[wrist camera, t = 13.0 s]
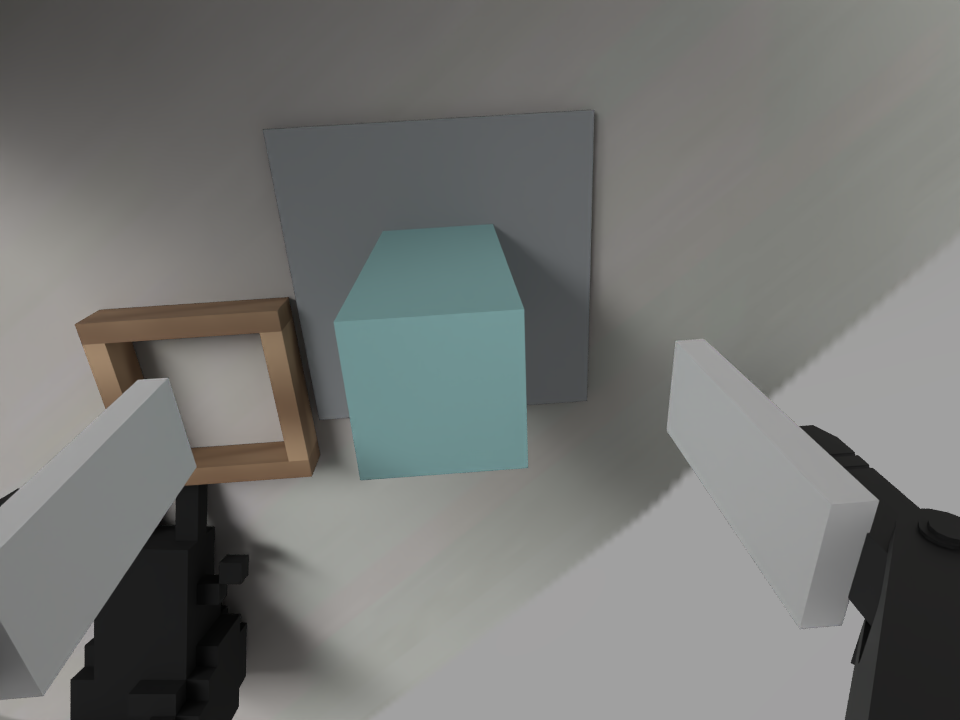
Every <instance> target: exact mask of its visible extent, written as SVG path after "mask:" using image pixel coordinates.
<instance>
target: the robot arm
mask: <svg viewBox="0 0 960 720" xmlns="http://www.w3.org/2000/svg"><path fill="white" fill-rule="evenodd" d="M667 432H668V433H669V435H670V436H671V438H672V439H673V441H674V442H675V444H676V445H677V447H678V448H679V450H680V451H681V453H682V454H683V456H684V457H685V459H686V460H687V462H688V463H689V465H690V466H691V468H692V469H693V471H694V472H695V474H696V475H697V477H698V478H699V480H700V481H701V483H702V484H703V486H704V487H705V489H706V490H707V491H708V493H709V495H710V496H711V498H712V499H713V501H714V502H715V504H716V505H717V507H718V508H719V510H720V511H721V512H722V514H723V515H724V517H725V519H726V520H727V521H728V523H729V524H730V526H731V527H732V529H733V530H734V532H735V533H736V535H737V536H738V538H739V539H740V541H741V542H742V544H743V545H744V547H745V548H746V550H747V551H748V552H749V554H750V556H751V557H752V559H753V560H754V562H755V563H756V565H757V566H758V568H759V569H760V571H761V572H762V574H763V575H764V577H765V578H766V580H767V581H768V583H769V584H770V586H771V587H772V589H773V590H774V592H775V593H776V595H777V596H778V597H779V599H780V600H781V602H782V604H783V605H784V606H785V608H786V610H787V611H788V612H789V614H790V616H791V617H792V619H793V620H794V621H795V623H796V625H797V626H798V627H799V629H806V628H818V627H829V626H840V625H842V623H843V620H844V617H845V613H846V610H847V606H848V603H849V600H850V601H851V602H852V603H853V604H854V606H855V607H856V608H857V609H858V611H859V612H860V613H861V614H862V615H863V616H864V618H865V620H864V623H863V626H862V629H861V632H860V635H859V639H858V642H857V645H856V648H855V651H854V654H853V657H852V660H851V663H852V664H854V665H855V666H854V671H853V677H852V683H851V688H850V694H849V700H848V705H847V711H846V717H845V720H960V517H958V516H956V515H953V514H950V513H947V512H943V511H938V510H933V509H920V508H919V507H917V506H916V505H915V504H914V503H913V502H912V501H911V500H909V499H908V498H907V497H906V496H905V495H903V494H902V493H901V492H900V491H899V490H898V489H897V488H895V487H894V486H893V485H892V484H891V483H890V482H888V481H887V480H886V479H885V478H884V477H883V476H882V475H880V474H879V473H878V472H877V471H876V470H875V469H873V468H869V464H867V463H866V462H865V461H864V460H863V459H862V458H861V457H860V456H858V455H856V456H855V452H854V451H853V450H851V449H850V448H849V447H848V446H847V445H846V444H844V443H843V442H842V441H841V440H840V439H839V438H837V437H836V436H833V435H832V434H829V433H828V432H826V431H823V430H821V429H820V428H818V427H815V426H814V425H809V426H798V425H797V424H796V423H795V422H794V421H793V420H792V419H790V418H789V417H788V416H787V415H786V414H785V413H784V412H783V411H782V410H781V409H780V408H779V407H777V406H776V405H775V404H774V403H773V402H772V401H771V400H770V399H769V398H768V397H767V396H766V395H765V394H763V393H762V392H761V391H760V390H759V389H758V388H757V387H756V386H755V385H754V384H753V383H752V382H750V381H749V380H748V379H747V378H746V377H745V376H744V375H743V374H742V373H741V372H740V371H739V370H738V369H736V368H735V367H734V366H733V365H732V364H731V363H730V362H729V361H728V360H727V359H726V358H725V357H723V356H722V355H721V354H720V353H719V352H718V351H717V350H716V349H715V348H714V347H713V346H712V345H710V344H709V343H708V342H707V341H706V340H705V339H693V340H679V341H675V350H674V360H673V371H672V381H671V391H670V401H669V411H668V421H667ZM196 467H197V466H196V463H195V460H194V457H193V454H192V451H191V447H190V444H189V441H188V438H187V435H186V432H185V428H184V425H183V422H182V419H181V416H180V413H179V410H178V406H177V403H176V400H175V397H174V394H173V391H172V387H171V384H170V381H169V378H157V379H143V380H137V381H136V382H135V383H134V384H133V385H132V386H131V387H130V388H129V389H127V390H126V391H125V392H124V393H123V394H122V395H121V396H120V397H119V398H118V399H117V400H116V401H114V402H113V403H112V404H111V405H110V406H109V407H108V408H107V409H106V410H105V411H104V412H103V413H101V414H100V415H99V416H98V417H97V418H96V419H95V420H94V421H93V422H92V423H91V424H90V425H88V426H87V427H86V428H85V429H84V430H83V431H82V432H81V433H80V434H79V435H78V436H76V437H75V438H74V439H73V440H72V441H71V442H70V443H69V444H68V445H67V446H66V447H65V448H63V449H62V450H61V451H60V452H59V453H58V454H57V455H56V456H55V457H54V458H53V459H52V460H50V461H49V462H48V463H47V464H46V465H45V466H44V467H43V468H42V469H41V470H40V471H39V472H37V473H36V474H35V475H34V476H33V477H32V478H31V479H30V480H29V481H28V482H27V483H26V484H24V485H23V486H22V487H21V488H20V489H16V490H15V491H13V492H11V493H10V494H8V495H6V496H5V497H3V498H1V499H0V700H5V699H16V698H27V697H39V696H44V694H45V693H46V691H47V690H48V688H49V687H50V685H51V684H52V682H53V681H54V679H55V678H56V676H57V675H58V673H59V672H60V670H61V669H62V667H63V666H64V664H65V663H66V661H67V660H68V658H69V657H70V655H71V654H72V652H73V651H74V649H75V648H76V646H77V645H78V643H79V642H80V640H81V639H82V637H83V636H84V634H85V633H86V631H87V630H88V628H89V627H90V625H91V624H92V623H93V621H94V620H95V618H96V617H97V615H98V614H99V612H100V611H101V609H102V608H103V606H104V605H105V603H106V602H107V600H108V599H109V597H110V596H111V594H112V593H113V591H114V590H115V588H116V587H117V585H118V584H119V582H120V581H121V579H122V578H123V576H124V575H125V573H126V572H127V570H128V569H129V567H130V566H131V564H132V563H133V561H134V560H135V558H136V557H137V555H138V554H139V552H140V551H141V549H142V548H143V546H144V545H145V543H146V542H147V540H148V539H149V537H150V536H151V534H152V533H153V531H154V530H155V528H156V527H157V525H158V524H159V522H160V521H161V519H162V518H163V516H164V515H165V514H166V512H167V511H168V509H169V508H170V506H171V505H172V503H173V502H174V500H175V499H176V497H177V496H178V494H179V493H180V491H181V490H182V488H183V487H184V485H185V484H186V482H187V481H188V479H189V478H190V476H191V475H192V473H193V472H194V470H195V469H196Z"/></svg>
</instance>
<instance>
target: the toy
mask: <svg viewBox="0 0 960 720" xmlns="http://www.w3.org/2000/svg"><path fill="white" fill-rule="evenodd" d="M214 541H215V527H211V526H207V484H202V485H188V486H184V487H183V488H182V490H181V491H180V493H179V494H178V496H177V497H176V525H175V526H157V527H156V528H155V530H154V531H153V533H152V534H151V536H150V537H149V539H148V540H147V542H146V543H145V545H144V546H143V548H142V549H141V551H140V552H139V554H138V555H137V557H136V558H135V560H134V561H133V563H132V564H131V566H130V567H129V569H128V570H127V572H126V573H125V575H124V576H123V578H122V579H121V581H120V582H119V584H118V585H117V587H116V588H115V590H114V591H113V593H112V594H111V596H110V597H109V599H108V600H107V602H106V603H105V605H104V606H103V608H102V609H101V611H100V612H99V614H98V615H97V617H96V618H95V620H94V638H93V639H92V640H91V641H89V642H88V643H87V644H86V645H85V667H84V668H83V669H82V670H81V671H79V672H78V673H77V674H76V675H75V676H74V677H73V678H72V679H71V720H232V718H233V716H234V714H235V713H236V711H237V709H238V707H239V687H240V686H241V684H242V682H243V680H244V679H245V677H246V633H247V623H240V615H241V614H228V608H227V606H221V601H222V600H223V599H224V598H225V596H226V595H227V584H242V582H243V581H244V580H245V578H246V577H247V576H248V562H249V555H230V554H227V555H226V557H225V558H224V559H223V560H222V561H221V562H220V563H219V575H214Z"/></svg>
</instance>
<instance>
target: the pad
mask: <svg viewBox="0 0 960 720" xmlns="http://www.w3.org/2000/svg"><path fill="white" fill-rule="evenodd" d="M263 133H264V138H265V143H266V149H267V154H268V159H269V164H270V169H271V174H272V179H273V185H274V190H275V195H276V200H277V205H278V210H279V215H280V221H281V226H282V231H283V236H284V241H285V246H286V251H287V257H288V262H289V267H290V272H291V277H292V282H293V287H294V293H295V298H296V303H297V308H298V313H299V318H300V323H301V329H302V334H303V339H304V344H305V349H306V354H307V359H308V365H309V370H310V375H311V380H312V385H313V390H314V395H315V401H316V406H317V411H318V416H319V420H324V419H338V418H350V416H349V410H348V404H347V399H346V393H345V387H344V381H343V375H342V369H341V363H340V357H339V351H338V345H337V339H336V334H335V328H334V320H335V319H336V317H337V315H338V313H339V311H340V309H341V307H342V306H343V304H344V302H345V300H346V298H347V296H348V295H349V293H350V291H351V289H352V287H353V285H354V283H355V282H356V280H357V278H358V276H359V274H360V272H361V271H362V269H363V267H364V265H365V263H366V261H367V259H368V258H369V256H370V254H371V252H372V250H373V248H374V247H375V245H376V243H377V241H378V239H379V237H380V236H381V234H382V232H383V231H392V230H408V229H423V228H439V227H454V226H470V225H486V224H493V226H494V229H495V231H496V234H497V237H498V239H499V242H500V245H501V248H502V250H503V253H504V256H505V258H506V261H507V264H508V267H509V269H510V272H511V275H512V277H513V280H514V283H515V286H516V288H517V291H518V294H519V296H520V299H521V302H522V305H523V307H524V322H525V363H526V405H535V404H549V403H563V402H577V401H587V381H588V341H589V301H590V262H591V222H592V182H593V142H594V110H579V111H562V112H546V113H529V114H512V115H496V116H479V117H462V118H445V119H429V120H412V121H395V122H379V123H362V124H345V125H329V126H312V127H295V128H279V129H264V130H263Z"/></svg>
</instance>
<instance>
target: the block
mask: <svg viewBox="0 0 960 720" xmlns="http://www.w3.org/2000/svg"><path fill="white" fill-rule="evenodd" d="M334 328H335V334H336V339H337V345H338V351H339V357H340V363H341V369H342V375H343V381H344V387H345V393H346V399H347V404H348V410H349V416H350V422H351V428H352V434H353V440H354V446H355V452H356V458H357V464H358V469H359V475H360V480H371V479H385V478H398V477H412V476H425V475H439V474H452V473H466V472H479V471H493V470H507V469H520V468H528V446H527V405H526V363H525V322H524V307H523V305H522V302H521V299H520V296H519V294H518V291H517V288H516V286H515V283H514V280H513V277H512V275H511V272H510V269H509V267H508V264H507V261H506V258H505V256H504V253H503V250H502V248H501V245H500V242H499V239H498V237H497V234H496V231H495V229H494V226H493V224H486V225H470V226H454V227H439V228H423V229H408V230H392V231H383V232H382V234H381V236H380V237H379V239H378V241H377V243H376V245H375V247H374V248H373V250H372V252H371V254H370V256H369V258H368V259H367V261H366V263H365V265H364V267H363V269H362V271H361V272H360V274H359V276H358V278H357V280H356V282H355V283H354V285H353V287H352V289H351V291H350V293H349V295H348V296H347V298H346V300H345V302H344V304H343V306H342V307H341V309H340V311H339V313H338V315H337V317H336V319H335V320H334Z"/></svg>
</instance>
